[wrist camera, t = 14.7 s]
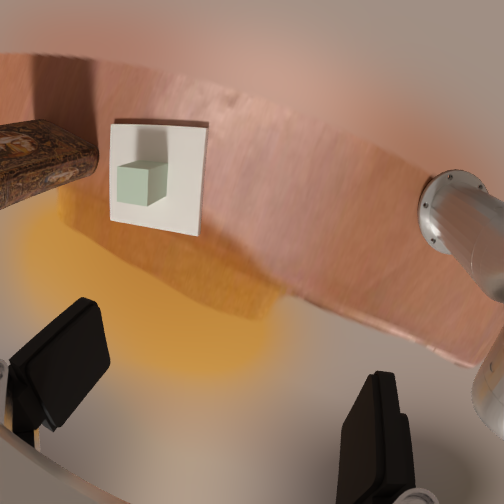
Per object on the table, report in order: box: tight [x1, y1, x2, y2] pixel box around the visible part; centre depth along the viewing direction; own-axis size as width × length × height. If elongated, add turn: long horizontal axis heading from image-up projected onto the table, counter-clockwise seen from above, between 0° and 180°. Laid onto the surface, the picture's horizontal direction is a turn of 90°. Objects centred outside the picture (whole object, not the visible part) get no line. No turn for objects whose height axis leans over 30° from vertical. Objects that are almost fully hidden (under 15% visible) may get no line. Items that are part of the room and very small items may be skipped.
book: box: [0, 120, 99, 210], centre depth 35 cm, size 16×6×25 cm, turn 62°
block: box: [117, 160, 168, 206], centre depth 42 cm, size 5×5×6 cm
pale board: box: [110, 124, 209, 236], centre depth 45 cm, size 16×16×1 cm
